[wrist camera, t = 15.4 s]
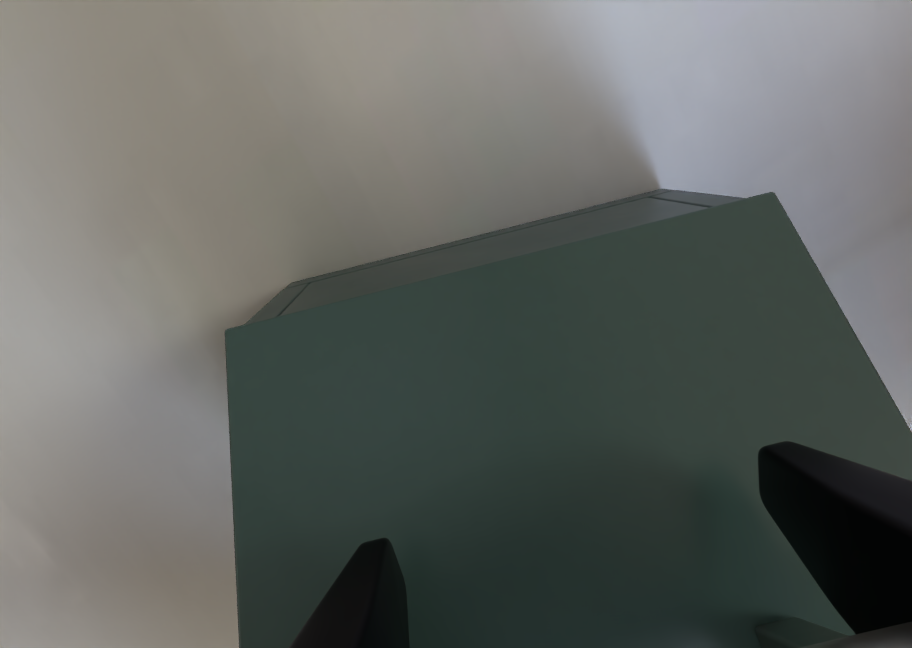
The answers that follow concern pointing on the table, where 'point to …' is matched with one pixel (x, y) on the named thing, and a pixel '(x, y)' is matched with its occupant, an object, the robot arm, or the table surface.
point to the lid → (559, 442)
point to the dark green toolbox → (487, 249)
